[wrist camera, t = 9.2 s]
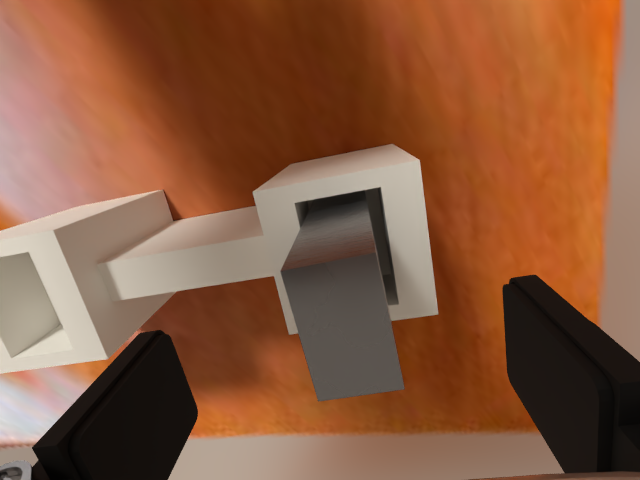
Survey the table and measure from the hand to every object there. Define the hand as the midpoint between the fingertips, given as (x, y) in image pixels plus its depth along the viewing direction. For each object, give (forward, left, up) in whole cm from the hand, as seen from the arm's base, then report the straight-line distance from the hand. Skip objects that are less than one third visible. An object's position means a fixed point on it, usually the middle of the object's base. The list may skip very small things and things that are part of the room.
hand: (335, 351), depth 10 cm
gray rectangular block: (+1, 0, -13) cm, 13 cm away
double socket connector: (0, -9, -21) cm, 23 cm away
